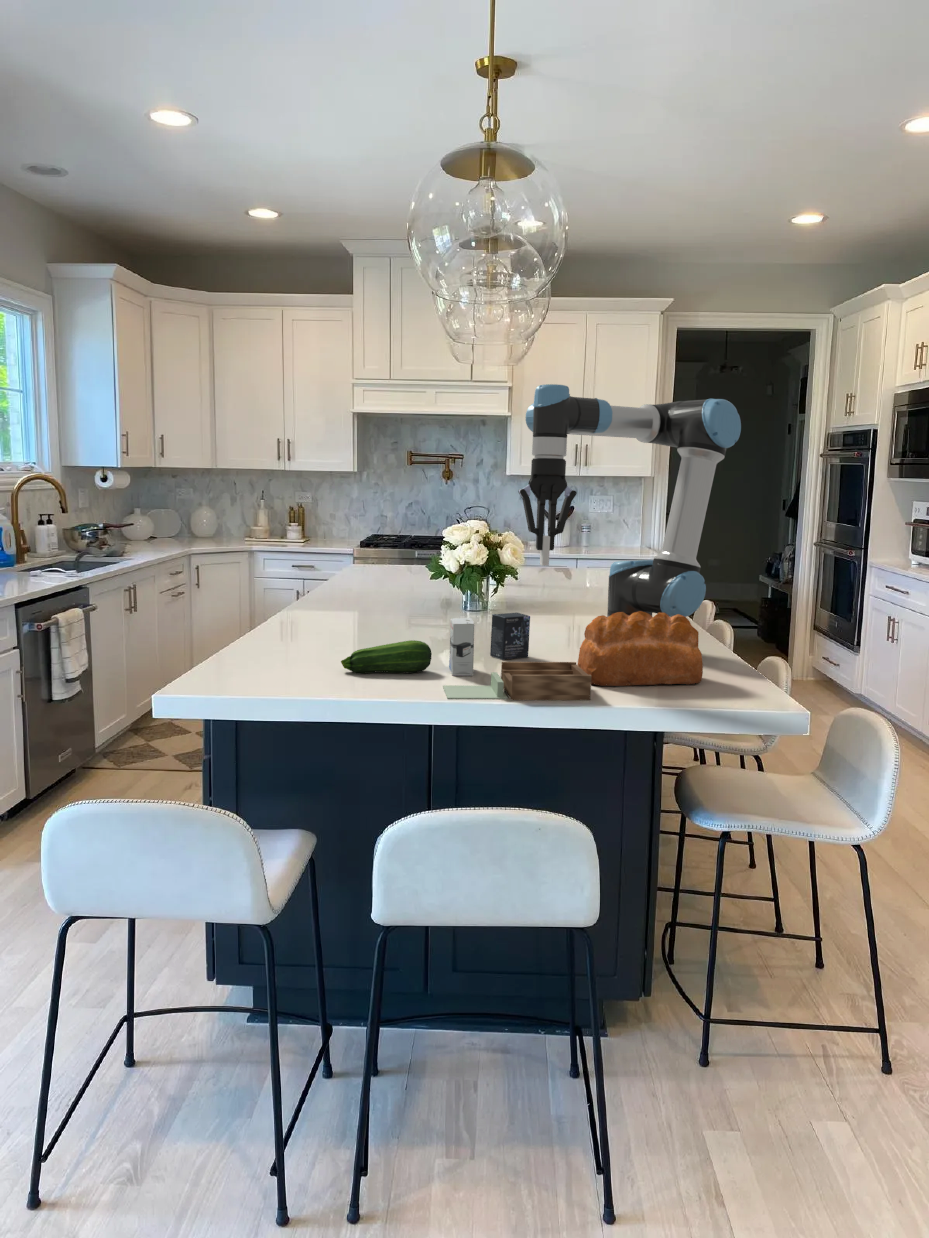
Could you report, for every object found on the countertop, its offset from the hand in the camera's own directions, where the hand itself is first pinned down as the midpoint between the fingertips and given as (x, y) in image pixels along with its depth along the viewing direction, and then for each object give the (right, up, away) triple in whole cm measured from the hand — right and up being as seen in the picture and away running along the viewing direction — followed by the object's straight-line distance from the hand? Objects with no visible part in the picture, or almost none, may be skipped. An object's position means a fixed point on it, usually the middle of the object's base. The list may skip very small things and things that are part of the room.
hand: (544, 565), depth 200 cm
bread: (+21, -26, -1) cm, 33 cm away
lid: (-16, -28, -17) cm, 36 cm away
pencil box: (-1, -27, -15) cm, 31 cm away
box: (-7, -22, +20) cm, 30 cm away
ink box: (-19, -24, +2) cm, 30 cm away
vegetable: (-35, -24, -1) cm, 43 cm away
